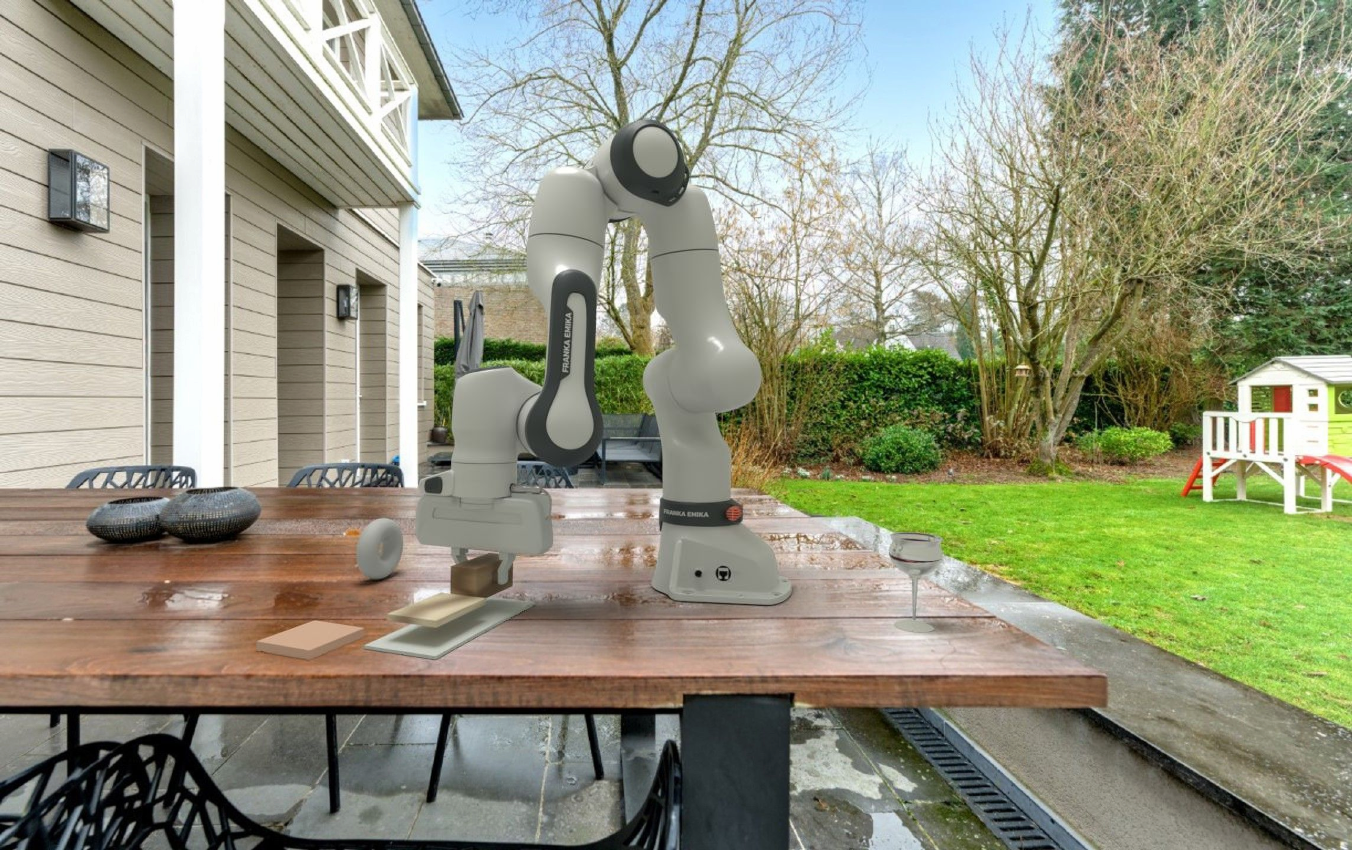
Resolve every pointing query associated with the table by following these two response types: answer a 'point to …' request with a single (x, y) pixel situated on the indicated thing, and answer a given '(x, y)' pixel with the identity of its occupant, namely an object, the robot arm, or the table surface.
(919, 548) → the wineglass
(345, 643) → the tile
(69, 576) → the table surface
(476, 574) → the stepped slab stack
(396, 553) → the donut
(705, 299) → the robot arm
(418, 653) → the mat
